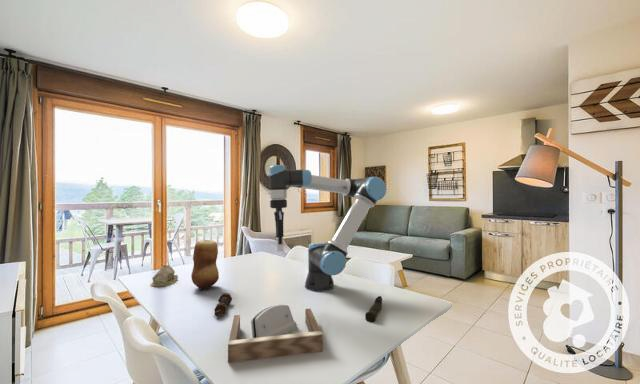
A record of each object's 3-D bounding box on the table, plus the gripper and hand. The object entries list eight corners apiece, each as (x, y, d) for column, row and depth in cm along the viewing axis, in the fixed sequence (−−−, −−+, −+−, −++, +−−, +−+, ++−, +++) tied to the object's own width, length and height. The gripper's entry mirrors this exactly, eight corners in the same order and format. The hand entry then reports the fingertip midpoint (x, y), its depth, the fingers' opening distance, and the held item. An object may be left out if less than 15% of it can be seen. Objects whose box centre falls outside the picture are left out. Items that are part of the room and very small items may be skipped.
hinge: (262, 346, 90) (255, 314, 92) (253, 346, 93) (247, 315, 95) (298, 327, 103) (291, 299, 105) (289, 328, 106) (283, 300, 108)
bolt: (216, 323, 111) (224, 307, 126) (227, 316, 111) (234, 301, 126) (208, 311, 110) (217, 296, 125) (220, 304, 111) (227, 290, 126)
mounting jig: (310, 321, 108) (310, 307, 108) (322, 351, 87) (322, 333, 87) (234, 329, 102) (234, 314, 102) (227, 362, 81) (227, 344, 81)
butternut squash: (221, 289, 146) (221, 240, 146) (193, 294, 138) (193, 243, 139) (214, 282, 157) (214, 237, 158) (188, 287, 150) (188, 239, 150)
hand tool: (375, 323, 106) (375, 311, 106) (365, 321, 108) (365, 309, 108) (387, 306, 123) (387, 295, 123) (378, 304, 125) (378, 294, 125)
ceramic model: (165, 287, 150) (165, 268, 150) (146, 286, 151) (146, 268, 151) (181, 279, 164) (181, 262, 164) (163, 279, 165) (163, 261, 165)
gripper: (268, 199, 134) (270, 249, 134) (271, 199, 121) (273, 254, 121) (284, 198, 136) (286, 247, 136) (288, 199, 123) (290, 253, 123)
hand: (280, 251), depth 129 cm, fingers closed
